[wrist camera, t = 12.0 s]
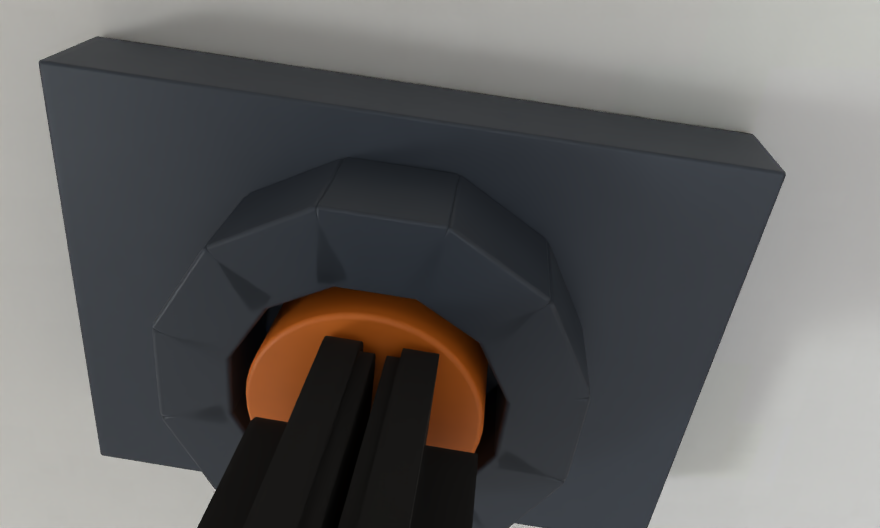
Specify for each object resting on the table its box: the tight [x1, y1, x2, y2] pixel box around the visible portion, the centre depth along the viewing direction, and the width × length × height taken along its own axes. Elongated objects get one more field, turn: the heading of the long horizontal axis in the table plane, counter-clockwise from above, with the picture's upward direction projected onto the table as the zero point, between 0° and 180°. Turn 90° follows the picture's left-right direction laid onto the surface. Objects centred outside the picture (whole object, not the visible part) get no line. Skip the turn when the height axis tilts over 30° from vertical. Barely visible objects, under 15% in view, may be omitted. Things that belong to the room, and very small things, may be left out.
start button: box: [246, 287, 488, 453], centre depth 11 cm, size 4×4×2 cm
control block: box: [39, 37, 785, 528], centre depth 12 cm, size 11×8×4 cm
